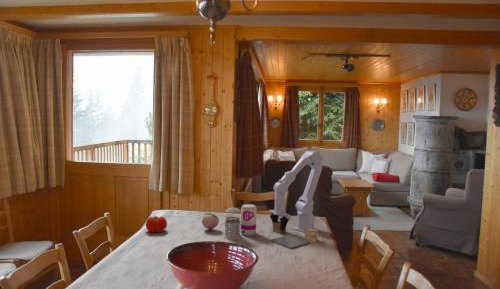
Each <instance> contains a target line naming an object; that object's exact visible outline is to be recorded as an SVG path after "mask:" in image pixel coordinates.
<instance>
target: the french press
mask: <svg viewBox="0 0 500 289" xmlns="http://www.w3.org/2000/svg"><path fill="white" fill-rule="evenodd" d="M231 192H232V195H233V197H232V203H233V204H234V199H235V198H234V197H235V196H234V195H235V192H236V188H232V189H231ZM224 211H225V213H227V215H226V216H225V219H224V220H225V221H224V226H225V228H224V235H223V236H222V238H223V239H224V240H227V241H228V240H229V241H237V240H238V241H239V240H241V239H242V238H243V237H242V234H241V217H238V216H232V215H228V214H240V213H241V208H240V209H239V208H238V207H234V206H232V207H231V206H230V207H228V208H227V209H225V210H224Z"/></svg>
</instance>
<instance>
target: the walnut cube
mask: <svg viewBox="0 0 500 289" xmlns="http://www.w3.org/2000/svg"><path fill="white" fill-rule="evenodd" d="M286 228H287V227H286ZM286 228H285V230H284V231H281V221H280V220H278V222H273V223H272V232H273V233H276V234H283V233H286V232H287V229H286Z"/></svg>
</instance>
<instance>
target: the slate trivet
mask: <svg viewBox="0 0 500 289" xmlns="http://www.w3.org/2000/svg"><path fill="white" fill-rule="evenodd" d="M269 242H270V243H274V244H276V245H278V246H282V247H284V248H287V249H289V250H293V249H295V248H299V247H303V246H307V245H310V244H311V242H310V241H307V240H305V238H304V239H303V238H301V237H298V236H296V235H295V236H294V235H292V234H287V235H284V236H279V237H276V238H271V239H270V240H269Z"/></svg>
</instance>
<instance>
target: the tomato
mask: <svg viewBox="0 0 500 289" xmlns="http://www.w3.org/2000/svg"><path fill="white" fill-rule="evenodd" d="M167 226H168V222H167V219H166V218H165V217H164V216H160V217H159V216H158V215H156V216H151V217H148V219H146V221H145V228H146V230H148V231H149V232H151V233H161V232H163V231H164V230H165V229H166V228H167Z"/></svg>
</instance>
